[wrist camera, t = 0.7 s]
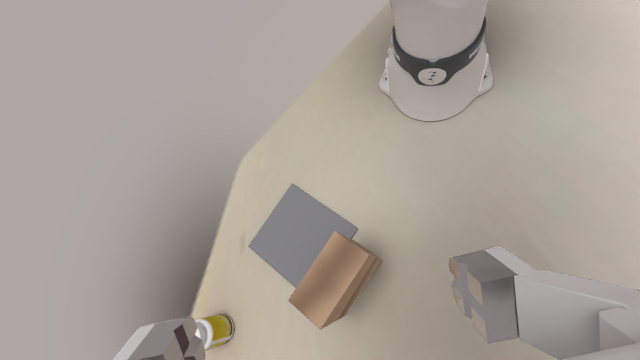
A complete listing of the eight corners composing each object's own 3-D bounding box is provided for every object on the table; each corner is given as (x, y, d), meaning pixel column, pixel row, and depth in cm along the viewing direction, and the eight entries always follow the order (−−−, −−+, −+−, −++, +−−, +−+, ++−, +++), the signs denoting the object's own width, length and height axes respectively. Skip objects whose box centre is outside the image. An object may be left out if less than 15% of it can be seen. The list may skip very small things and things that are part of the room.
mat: (358, 228, 49) (357, 228, 49) (310, 300, 48) (309, 300, 48) (292, 184, 56) (291, 183, 55) (249, 246, 54) (248, 246, 54)
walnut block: (382, 260, 47) (369, 255, 34) (347, 314, 46) (320, 329, 33) (356, 242, 49) (334, 230, 36) (322, 293, 48) (288, 300, 35)
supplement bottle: (220, 308, 53) (187, 314, 45) (239, 324, 51) (207, 332, 43) (206, 333, 52) (170, 343, 44) (225, 350, 50) (190, 363, 43)
